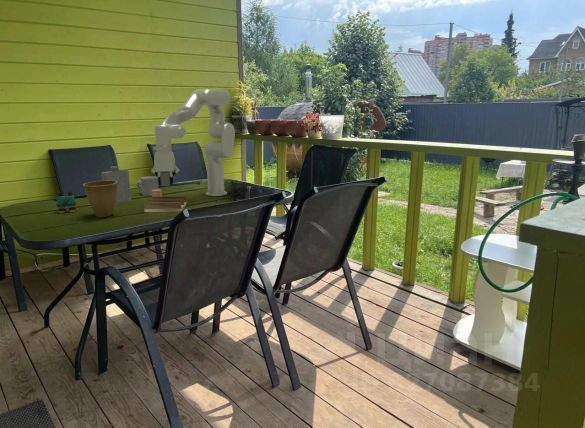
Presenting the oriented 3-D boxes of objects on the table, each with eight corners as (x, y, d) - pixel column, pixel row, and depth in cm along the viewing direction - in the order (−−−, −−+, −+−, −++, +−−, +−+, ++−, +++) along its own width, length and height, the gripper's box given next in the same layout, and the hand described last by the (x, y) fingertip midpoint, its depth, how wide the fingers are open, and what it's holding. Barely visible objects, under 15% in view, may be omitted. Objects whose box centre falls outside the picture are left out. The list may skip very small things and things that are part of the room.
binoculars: (74, 189, 225) (74, 191, 216) (76, 210, 227) (77, 212, 218) (54, 191, 221) (54, 192, 212) (57, 212, 223) (57, 214, 214)
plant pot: (96, 212, 219) (92, 180, 215) (125, 211, 218) (122, 180, 215) (81, 219, 204) (76, 185, 201) (112, 219, 204) (108, 185, 200)
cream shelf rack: (153, 204, 235) (152, 196, 234) (187, 203, 236) (186, 195, 235) (144, 212, 217) (143, 203, 216) (181, 211, 218) (180, 202, 217)
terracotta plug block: (154, 202, 241) (153, 189, 240) (162, 201, 242) (161, 189, 240) (152, 203, 238) (151, 190, 236) (160, 203, 238) (159, 190, 236)
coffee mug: (162, 192, 267) (161, 176, 265) (152, 195, 258) (150, 179, 256) (144, 191, 272) (142, 175, 269) (133, 194, 263) (131, 178, 260)
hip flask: (106, 205, 233) (102, 168, 228) (102, 204, 235) (98, 167, 230) (132, 200, 245) (129, 165, 241) (128, 199, 248) (124, 164, 243)
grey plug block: (162, 184, 229) (161, 171, 228) (171, 184, 230) (170, 171, 228) (161, 186, 225) (160, 172, 224) (169, 185, 226) (169, 172, 224)
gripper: (145, 149, 219) (148, 185, 223) (179, 149, 220) (181, 185, 224) (149, 148, 226) (151, 183, 231) (182, 148, 227) (184, 183, 232)
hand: (166, 184), depth 227 cm, fingers closed on grey plug block, 4 cm apart
